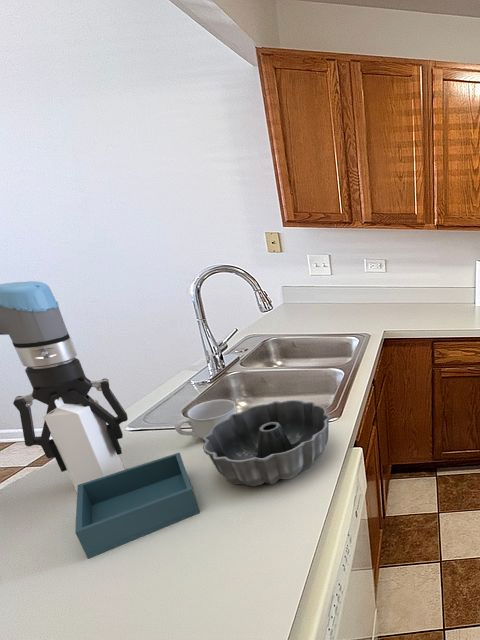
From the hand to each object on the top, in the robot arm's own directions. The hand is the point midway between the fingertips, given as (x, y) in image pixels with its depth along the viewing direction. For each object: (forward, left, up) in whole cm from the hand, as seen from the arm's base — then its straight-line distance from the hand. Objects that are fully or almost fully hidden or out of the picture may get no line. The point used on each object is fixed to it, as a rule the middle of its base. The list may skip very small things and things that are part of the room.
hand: (92, 459), depth 86 cm
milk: (0, 0, -6) cm, 6 cm away
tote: (+17, +6, -6) cm, 19 cm away
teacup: (-6, +22, -6) cm, 24 cm away
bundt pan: (+18, +31, -6) cm, 37 cm away
